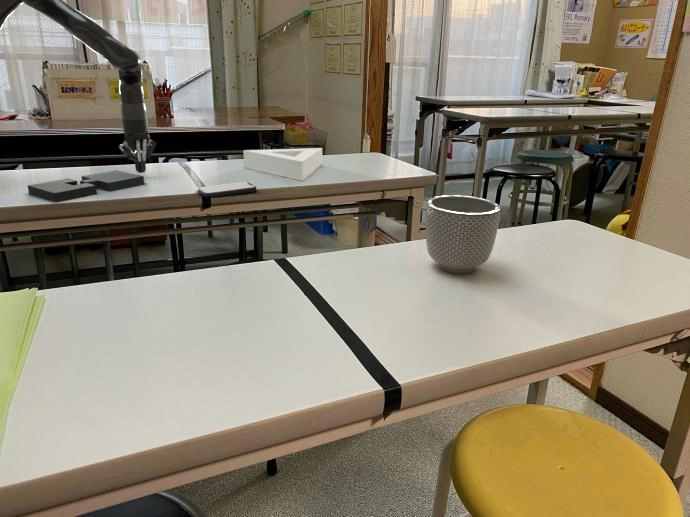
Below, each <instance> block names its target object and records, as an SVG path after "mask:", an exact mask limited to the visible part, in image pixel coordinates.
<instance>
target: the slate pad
mask: <svg viewBox="0 0 690 517" xmlns="http://www.w3.org/2000/svg"><path fill="white" fill-rule="evenodd" d="M80 177H81V180H79V184H84V183H88V184H92V185H96V190H99V189H100V190H104V191H108V192H112V191H117V190H118V191H119V190H122V189H127V188H128V189H129V188H132V187H137V186H142V185H145V177H144V176H143V175H139V174H135V173H131V172H126V171H121V170H110V171H104V172H98V173H93V174H85V175H82V176H80Z"/></svg>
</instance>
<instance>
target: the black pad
mask: <svg viewBox="0 0 690 517" xmlns="http://www.w3.org/2000/svg"><path fill="white" fill-rule="evenodd" d="M27 191H28V195H32V196H35V197H38V198H41V199H44V200H48V201H51V202H54V203H58V202H63V201H67V200H73V199H78V198H82V197H83V198H84V197H87V196H93V195H97V194H98V189H96V185H92V184H88V183H84V184H80V183H78V180H76V179H73V178H63V179H57V180H51V181H45V182H39V183H34V184H27Z"/></svg>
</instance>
